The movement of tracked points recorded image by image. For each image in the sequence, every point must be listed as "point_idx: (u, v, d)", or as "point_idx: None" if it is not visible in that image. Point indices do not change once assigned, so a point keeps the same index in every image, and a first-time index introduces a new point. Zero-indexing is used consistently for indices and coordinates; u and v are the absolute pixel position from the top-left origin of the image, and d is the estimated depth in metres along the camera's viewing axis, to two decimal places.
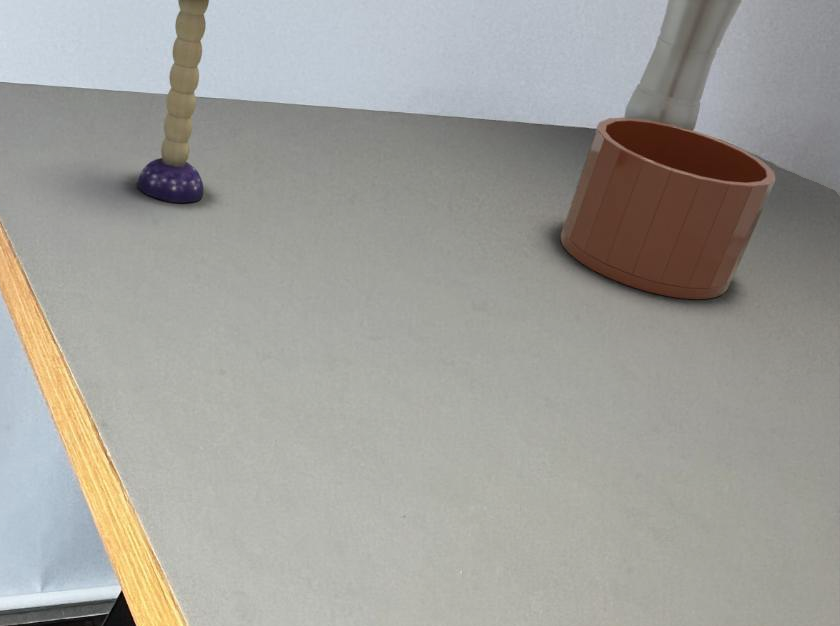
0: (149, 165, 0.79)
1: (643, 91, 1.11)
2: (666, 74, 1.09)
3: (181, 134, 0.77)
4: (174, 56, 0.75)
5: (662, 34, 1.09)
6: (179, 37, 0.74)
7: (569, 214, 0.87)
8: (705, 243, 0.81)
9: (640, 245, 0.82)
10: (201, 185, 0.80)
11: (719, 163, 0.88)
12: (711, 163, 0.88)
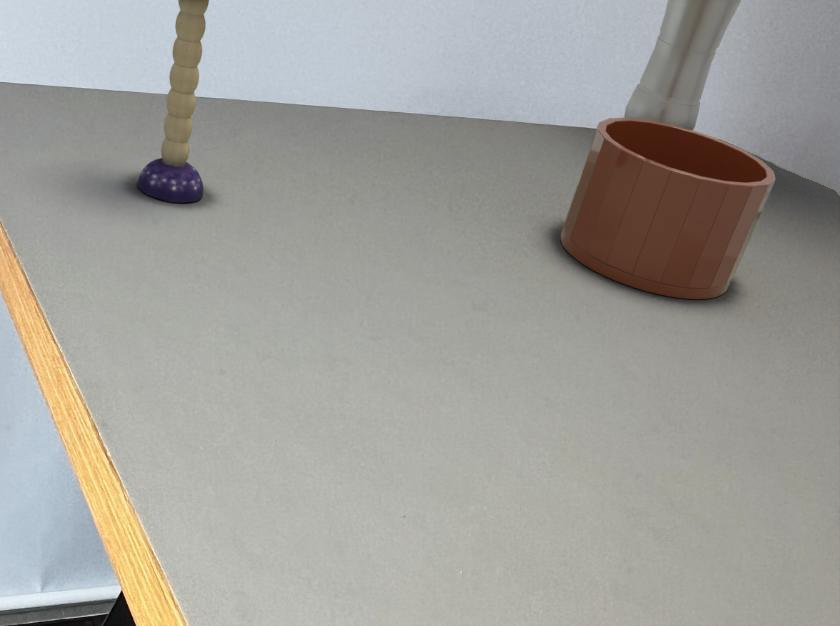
0: (149, 165, 0.79)
1: (642, 91, 1.11)
2: (666, 74, 1.09)
3: (181, 134, 0.77)
4: (174, 56, 0.75)
5: (662, 34, 1.09)
6: (179, 37, 0.74)
7: (569, 214, 0.87)
8: (705, 243, 0.81)
9: (640, 245, 0.82)
10: (201, 185, 0.80)
11: (719, 163, 0.88)
12: (711, 163, 0.88)
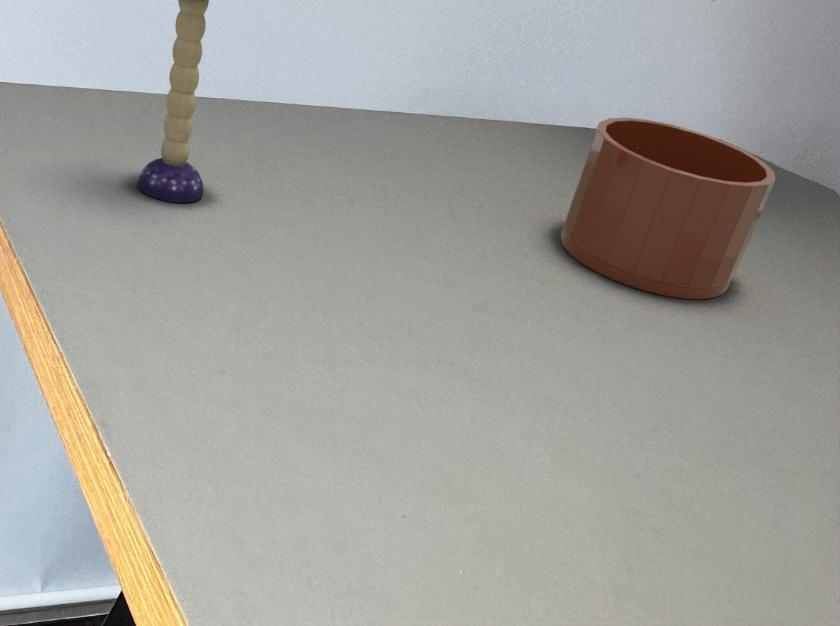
0: (149, 165, 0.79)
1: None
2: None
3: (181, 134, 0.77)
4: (174, 56, 0.75)
5: None
6: (179, 37, 0.74)
7: (569, 214, 0.87)
8: (705, 243, 0.81)
9: (640, 245, 0.82)
10: (201, 185, 0.80)
11: (719, 163, 0.88)
12: (711, 163, 0.88)
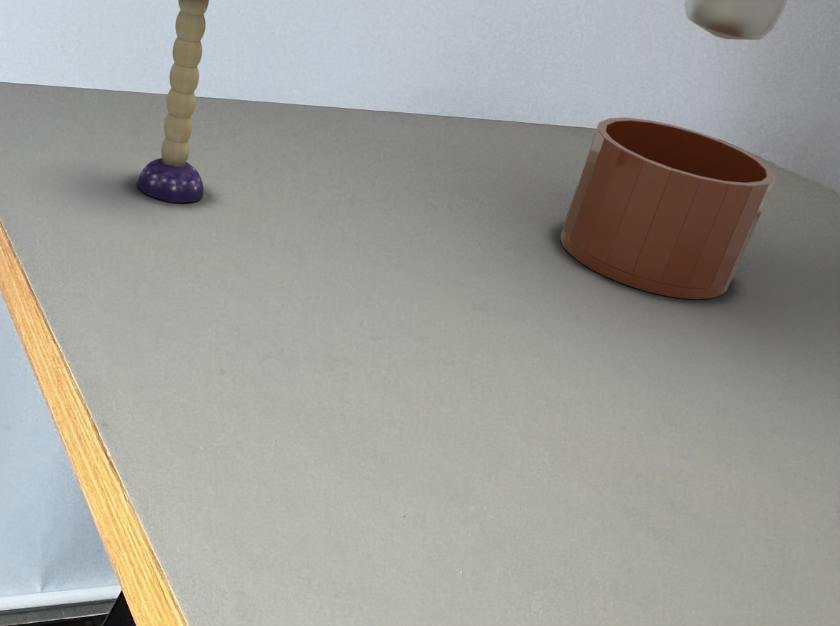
0: (149, 165, 0.79)
1: None
2: None
3: (181, 134, 0.77)
4: (174, 56, 0.75)
5: None
6: (179, 37, 0.74)
7: (569, 214, 0.87)
8: (705, 243, 0.81)
9: (640, 245, 0.82)
10: (201, 185, 0.80)
11: (719, 163, 0.88)
12: (711, 163, 0.88)
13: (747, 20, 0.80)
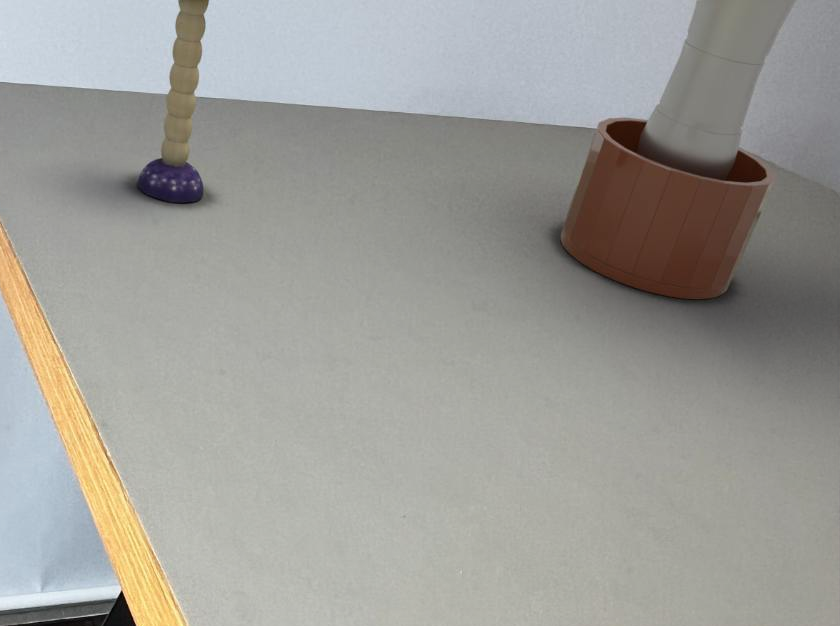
0: (149, 165, 0.79)
1: (663, 115, 0.81)
2: (697, 92, 0.79)
3: (181, 134, 0.77)
4: (174, 56, 0.75)
5: (690, 37, 0.79)
6: (179, 37, 0.74)
7: (569, 214, 0.87)
8: (705, 243, 0.81)
9: (640, 245, 0.82)
10: (201, 185, 0.80)
11: None
12: None
13: None
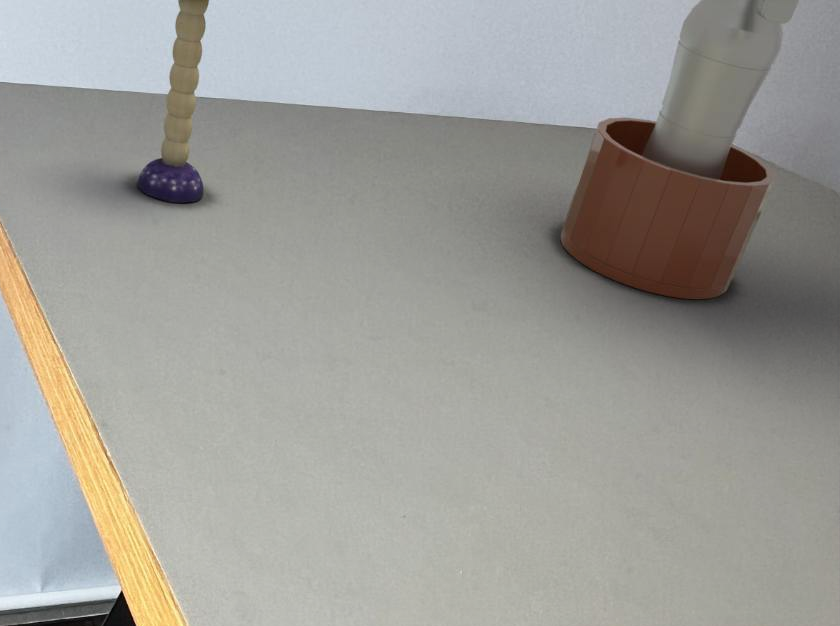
0: (149, 165, 0.79)
1: None
2: (670, 163, 0.82)
3: (181, 134, 0.77)
4: (174, 56, 0.75)
5: (664, 110, 0.82)
6: (179, 37, 0.74)
7: (569, 214, 0.87)
8: (705, 243, 0.81)
9: (640, 245, 0.82)
10: (201, 185, 0.80)
11: None
12: None
13: None
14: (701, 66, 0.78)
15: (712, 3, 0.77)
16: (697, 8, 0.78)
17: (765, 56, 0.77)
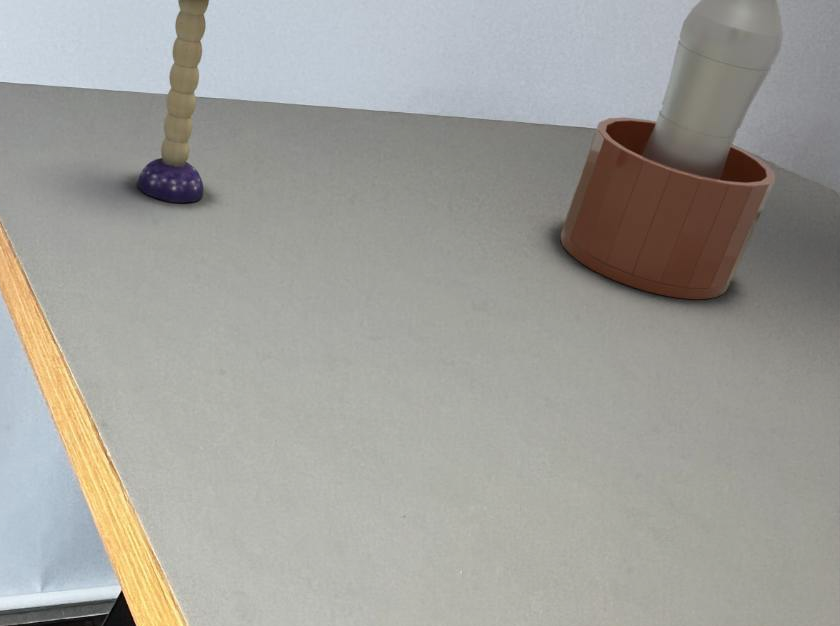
0: (149, 165, 0.79)
1: None
2: (670, 163, 0.82)
3: (181, 134, 0.77)
4: (174, 56, 0.75)
5: (664, 110, 0.82)
6: (179, 37, 0.74)
7: (569, 214, 0.87)
8: (705, 243, 0.81)
9: (640, 245, 0.82)
10: (201, 185, 0.80)
11: None
12: None
13: None
14: (701, 66, 0.78)
15: (712, 3, 0.77)
16: (697, 8, 0.78)
17: (765, 56, 0.77)
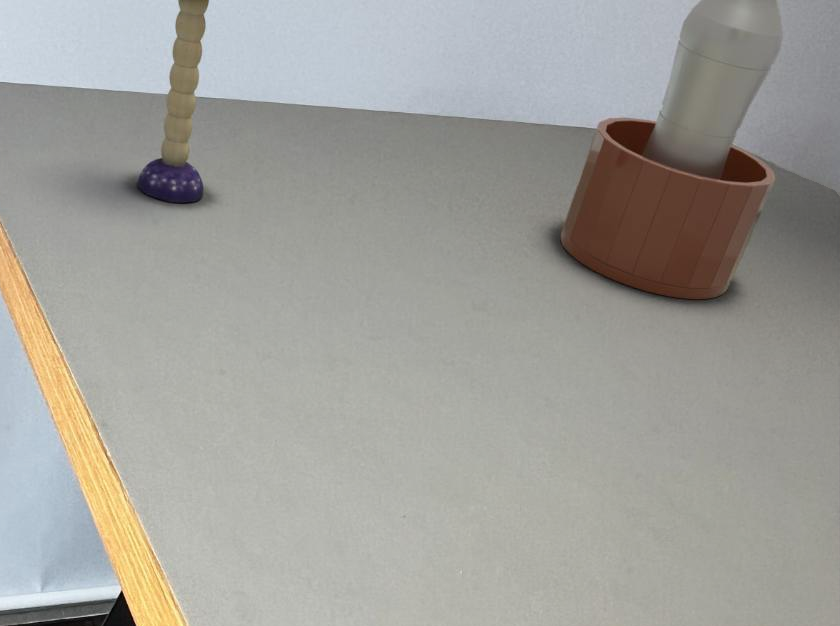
0: (149, 165, 0.79)
1: None
2: (670, 163, 0.82)
3: (181, 134, 0.77)
4: (174, 56, 0.75)
5: (664, 110, 0.82)
6: (179, 37, 0.74)
7: (569, 214, 0.87)
8: (705, 243, 0.81)
9: (640, 245, 0.82)
10: (201, 185, 0.80)
11: None
12: None
13: None
14: (701, 66, 0.78)
15: (712, 3, 0.77)
16: (697, 8, 0.78)
17: (765, 56, 0.77)
